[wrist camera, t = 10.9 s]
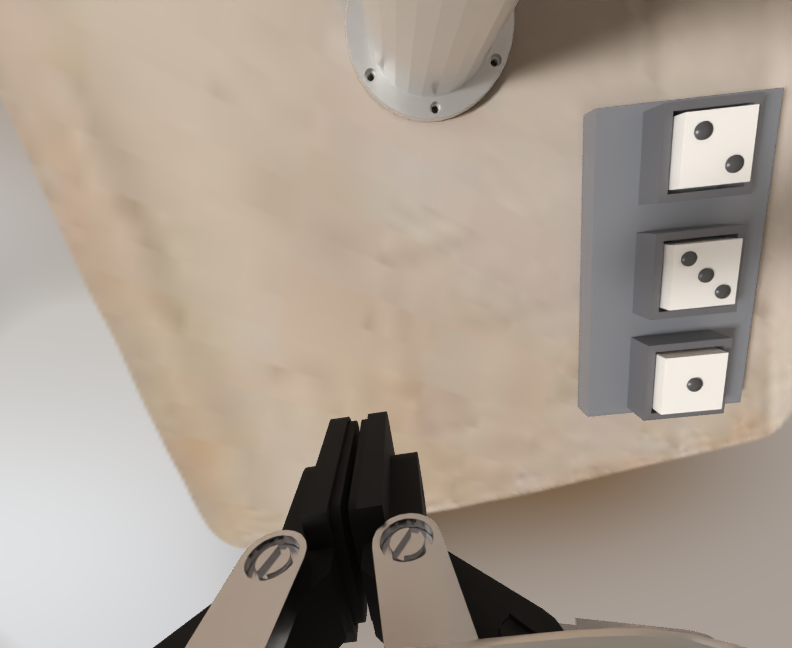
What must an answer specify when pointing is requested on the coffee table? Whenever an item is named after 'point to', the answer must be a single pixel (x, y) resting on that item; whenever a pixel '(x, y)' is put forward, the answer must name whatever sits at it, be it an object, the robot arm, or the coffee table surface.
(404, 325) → the coffee table surface
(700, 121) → the two-dot tile
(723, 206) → the key board
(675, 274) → the three-dot tile
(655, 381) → the one-dot tile
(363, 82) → the robot arm
